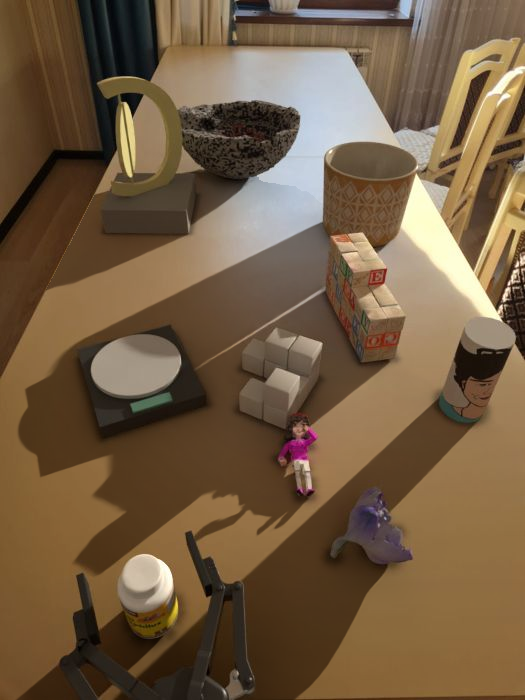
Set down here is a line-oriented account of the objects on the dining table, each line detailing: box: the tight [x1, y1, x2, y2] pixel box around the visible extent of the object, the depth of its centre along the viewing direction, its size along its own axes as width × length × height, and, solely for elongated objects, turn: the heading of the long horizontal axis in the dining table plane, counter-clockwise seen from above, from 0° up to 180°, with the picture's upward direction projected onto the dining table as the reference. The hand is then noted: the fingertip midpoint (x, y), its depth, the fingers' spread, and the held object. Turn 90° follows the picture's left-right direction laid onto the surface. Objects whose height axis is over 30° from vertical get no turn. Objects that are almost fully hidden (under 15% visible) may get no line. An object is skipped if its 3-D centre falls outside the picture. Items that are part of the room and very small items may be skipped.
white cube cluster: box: [238, 327, 323, 430], centre depth 83 cm, size 12×12×8 cm
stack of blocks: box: [325, 233, 407, 363], centre depth 94 cm, size 21×6×12 cm, turn 12°
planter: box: [322, 141, 419, 248], centre depth 117 cm, size 19×19×16 cm
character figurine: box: [277, 412, 319, 498], centre depth 74 cm, size 6×5×12 cm
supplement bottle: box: [116, 553, 179, 640], centre depth 57 cm, size 6×6×10 cm
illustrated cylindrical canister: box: [438, 316, 517, 424], centre depth 79 cm, size 7×7×15 cm
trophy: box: [96, 75, 197, 235], centre depth 117 cm, size 19×19×30 cm
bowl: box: [177, 99, 301, 180], centre depth 140 cm, size 31×31×15 cm
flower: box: [329, 486, 414, 565], centre depth 64 cm, size 9×9×10 cm
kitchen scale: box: [76, 324, 208, 439], centre depth 86 cm, size 16×18×3 cm
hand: (137, 557), depth 59 cm, fingers open, 11 cm apart
